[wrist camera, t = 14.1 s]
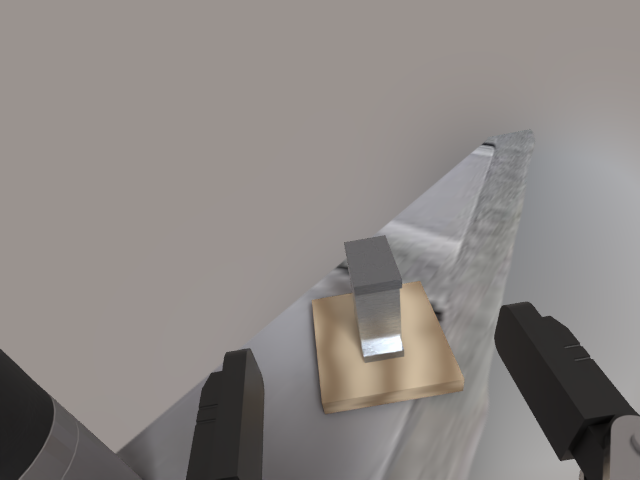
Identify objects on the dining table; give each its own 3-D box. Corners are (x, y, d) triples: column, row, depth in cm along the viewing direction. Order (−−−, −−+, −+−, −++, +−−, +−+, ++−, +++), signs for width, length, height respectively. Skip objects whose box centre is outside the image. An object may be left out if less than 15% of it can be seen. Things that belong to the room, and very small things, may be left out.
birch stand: (326, 417, 40) (322, 403, 38) (315, 314, 52) (311, 300, 50) (462, 394, 40) (464, 379, 38) (419, 296, 52) (420, 280, 50)
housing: (364, 363, 41) (354, 287, 34) (355, 316, 47) (344, 242, 40) (404, 356, 41) (401, 278, 34) (389, 310, 47) (385, 235, 40)
